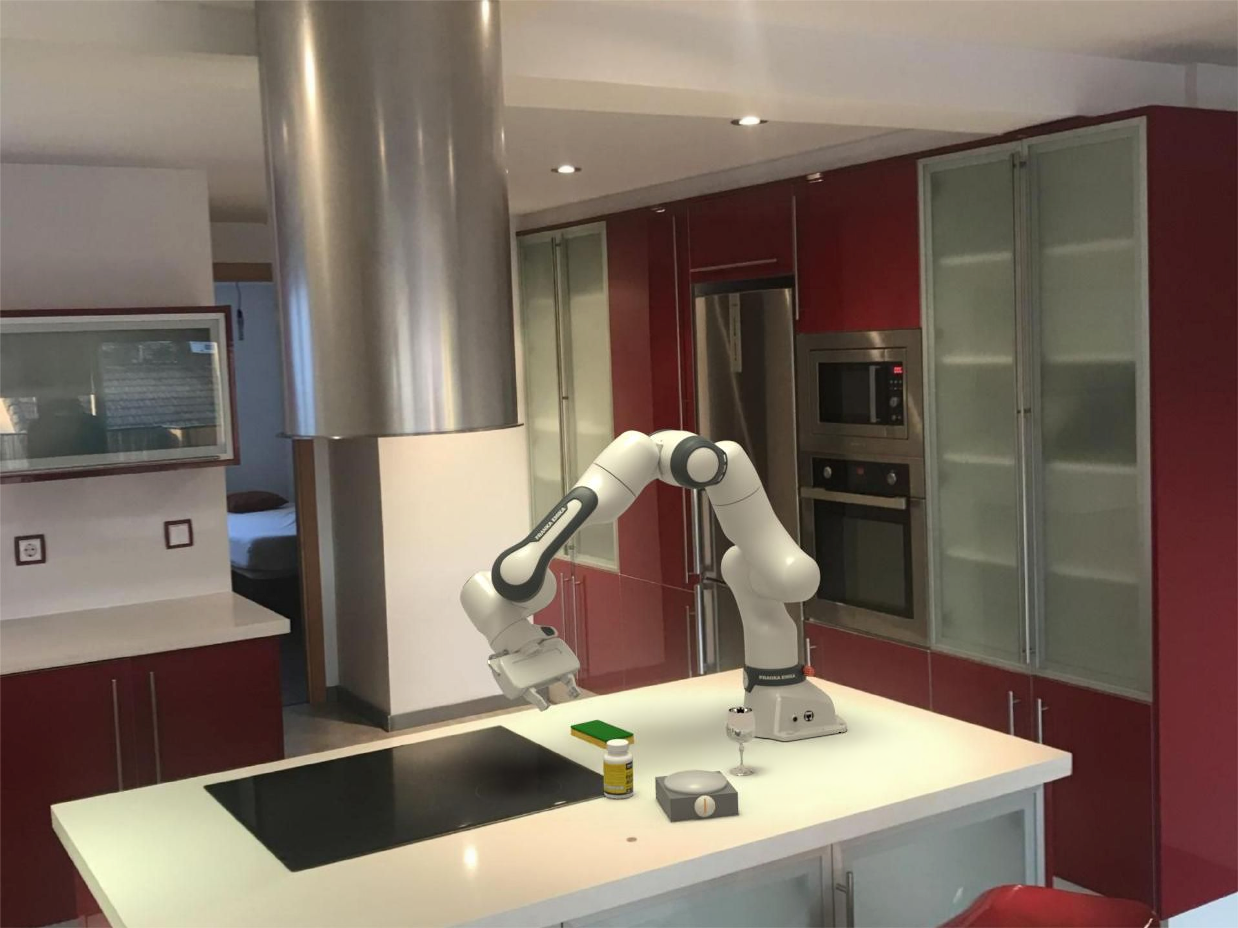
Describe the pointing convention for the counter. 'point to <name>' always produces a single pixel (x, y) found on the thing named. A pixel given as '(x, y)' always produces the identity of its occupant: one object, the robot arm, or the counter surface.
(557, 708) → the counter surface
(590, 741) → the dish sponge
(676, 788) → the kitchen scale
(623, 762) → the supplement bottle
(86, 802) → the counter surface
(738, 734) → the wineglass
